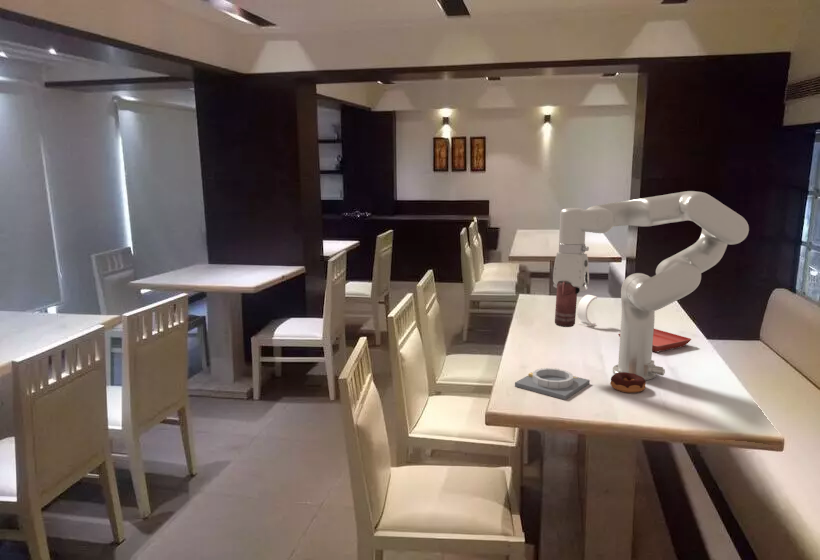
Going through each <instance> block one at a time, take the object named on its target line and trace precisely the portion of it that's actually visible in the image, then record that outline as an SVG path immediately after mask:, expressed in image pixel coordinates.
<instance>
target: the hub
mask: <svg viewBox="0 0 820 560" xmlns="http://www.w3.org/2000/svg"><path fill="white" fill-rule="evenodd" d="M590 381H591V380H590V379H586V378H583V377H578V376H576V375H575V376H574V375H573V373H571V372H569V371H567V370H564V369H560V368H553V367H546V368H545V367H544V368H538V369H535V370H534V371H532V372H529V373H528V374H527V375H526V376H524V377H523V378H520V379H519V380H517V381H515V382H514V387H516V388H520V389H523V390H527V391H530V392H535V393H538V394H542V395H545V396H550V397H553V398H557V399H561V400H563V401H564V400H565V401H566V400H568V399H569V398H570V397H572V396H574V395H575V394H576V393H578V392H579V391H580V390H582V389H584V388H585V387H587V386H588V385H590Z"/></svg>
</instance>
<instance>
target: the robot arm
mask: <svg viewBox="0 0 820 560" xmlns="http://www.w3.org/2000/svg"><path fill="white" fill-rule="evenodd" d="M685 221H690V222H693V223H695V224H696V225H697V226H699V227H700V228H701V232H700V236H699V238H698V239H697V240H696V242H694V243H693V244H692V245H690V246H688V247H687V248H685V249H683V250H681V251H679V252H677V253H676V254H673V255H671V256H670V257H667V258H665V259H663V260H662V261H661V262H660V263H659V264H658V265H657V266H656V269H655V274H654V275H653V276H649V275H648V274H645V273H642V272H636V273H632V274H630V275H628V276H627V277H625V279H624V280H623V282H622V284H621V288H620V302H621V314H620V315H621V318H620V333H619V334H620V337H619V346H618V347H619V348H618V349H619V351H618V363H617V364H616V365H614V366H613V367H612V373H613V375H614V374H616V373H621V372H627V373H634V374H636V375H639V376H641V377H643V378H644V379H645V381H648V380H652V379H654V378H656V377H657V376H656V375H660V376H665V374H666V371H665V369H664V367H663V366H657V365H656V364H655V360H652V357H653V351H652V345H653V332H654V329H655V317H656V316H655V313H656V312H657V311H659V310H661V309H663V308H665V307H667V306H670V305H671V304H674V303H675V302H677V301H679V300H680V299H683V298H685V297H686V296H688V295H690V294H692V292H694V291H695V290H696V289H697V288H698V287H699V285H700V283H701V280H702V273H704V272H706V271H708V270H710V269H711V268H713V267H714V266H716V265H717V264H718V263H719V262H720V261H721V259H722V258H723V256H724V254H725V252H726V251H727V247H728V245H732V246H733V245H737V244H741V242H743V241H745V240H746V239H747V237H748V235H749V231H750V226H749V224H748V221H747V220H746V219H745V217H744V216H742V215H740V214H739V213H737V211H734V210H733V209H731V208H730V207H729V206H727V205H725V204H723V203H722V202H721V201H719V200H718V199H716V198H715V197H713V196H711V195H710V194H708V193H706V192H704V191H703V192H702V191H695V190H687V191H680V192H674V193H673V192H672V193H668V194H663V195H655V196H648V197H642V198H641V197H640V198H636V199H635V198H634V199H629V200H622V201H618V202H617V201H616V202H608V203H603V204H596V205H592V206H589V207H588V208H586V209H584V208H581V207H566V208H562V209H561V210H560V212H559V234H558V235H559V236H558V238H559V239H558V252H557V253H556V255H555V259H554V265H553V272H552V282H553V285H552V286H553V288H555V289H557V283H558V282H559V281H560V282H566V283H571V284H572V286H573V287H577V288H576V292H575V294H577V295H578V294H579V293H581V292H586V291H588V285H589V283H590V264H589V256H588V253H585V252H588V251H589V249H590V248H589V246H586V233H593V234H605V233H609V231H611V230H612V229H613V228H615V227H621V226H622V227H623V226H624V227H625V226H635V227H652V226H659V225H665V224H670V223H679V222H685ZM655 311H656V312H655Z"/></svg>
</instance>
